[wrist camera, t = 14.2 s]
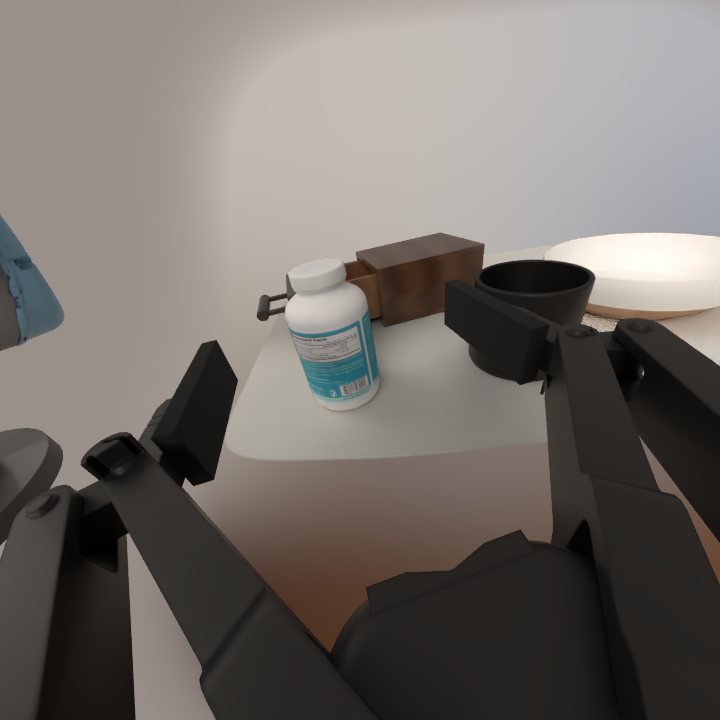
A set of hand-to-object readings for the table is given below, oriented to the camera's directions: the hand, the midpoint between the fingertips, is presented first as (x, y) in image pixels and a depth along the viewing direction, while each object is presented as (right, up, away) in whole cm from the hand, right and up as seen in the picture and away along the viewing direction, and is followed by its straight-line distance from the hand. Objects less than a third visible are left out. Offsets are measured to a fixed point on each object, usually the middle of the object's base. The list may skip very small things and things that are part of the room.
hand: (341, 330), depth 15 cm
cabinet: (+11, +9, +31) cm, 34 cm away
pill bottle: (0, -5, +14) cm, 15 cm away
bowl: (+36, +6, +20) cm, 41 cm away
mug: (+19, -1, +15) cm, 24 cm away
